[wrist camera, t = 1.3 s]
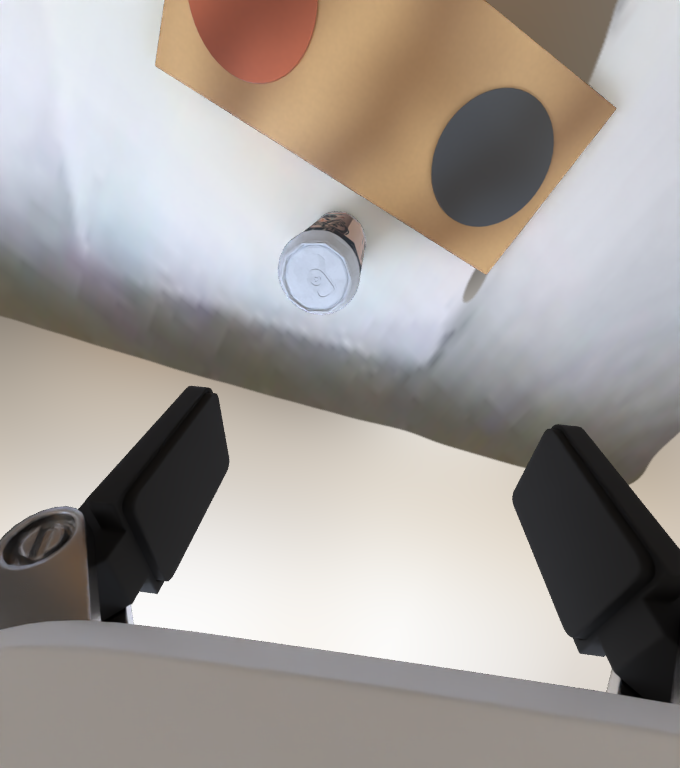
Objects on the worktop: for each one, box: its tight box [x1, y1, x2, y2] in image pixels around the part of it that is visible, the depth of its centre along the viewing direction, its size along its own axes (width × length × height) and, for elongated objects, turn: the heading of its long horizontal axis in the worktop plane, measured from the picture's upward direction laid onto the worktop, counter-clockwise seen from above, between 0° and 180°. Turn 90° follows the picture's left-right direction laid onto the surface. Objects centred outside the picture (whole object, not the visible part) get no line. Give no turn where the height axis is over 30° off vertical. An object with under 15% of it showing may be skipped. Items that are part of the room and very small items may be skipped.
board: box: [155, 0, 616, 274], centre depth 22 cm, size 28×12×2 cm, turn 62°
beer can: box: [278, 211, 366, 314], centre depth 23 cm, size 5×5×12 cm
